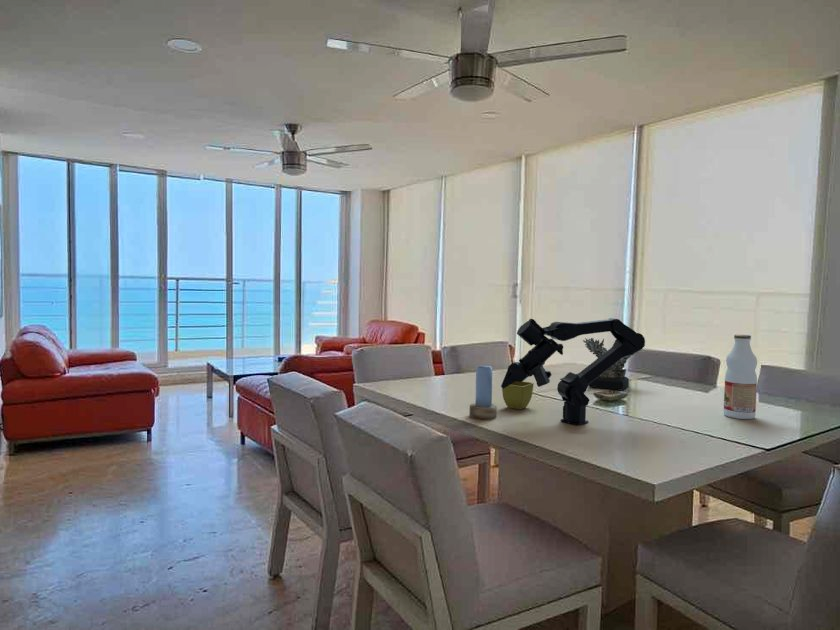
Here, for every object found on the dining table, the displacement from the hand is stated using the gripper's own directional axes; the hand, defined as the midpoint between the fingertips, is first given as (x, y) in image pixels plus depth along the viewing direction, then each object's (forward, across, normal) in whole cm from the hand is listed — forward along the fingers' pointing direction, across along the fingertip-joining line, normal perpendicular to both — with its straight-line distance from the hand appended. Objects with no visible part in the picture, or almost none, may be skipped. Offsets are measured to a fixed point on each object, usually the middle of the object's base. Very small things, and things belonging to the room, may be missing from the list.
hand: (505, 385), depth 176 cm
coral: (-11, +79, -26) cm, 83 cm away
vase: (+11, 0, 0) cm, 11 cm away
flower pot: (+8, +18, -7) cm, 21 cm away
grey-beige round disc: (+13, 0, -2) cm, 13 cm away
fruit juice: (-42, +40, -58) cm, 82 cm away
